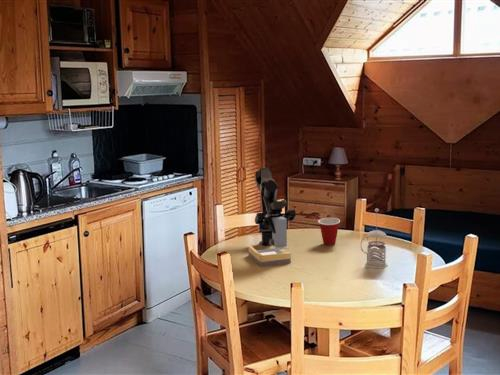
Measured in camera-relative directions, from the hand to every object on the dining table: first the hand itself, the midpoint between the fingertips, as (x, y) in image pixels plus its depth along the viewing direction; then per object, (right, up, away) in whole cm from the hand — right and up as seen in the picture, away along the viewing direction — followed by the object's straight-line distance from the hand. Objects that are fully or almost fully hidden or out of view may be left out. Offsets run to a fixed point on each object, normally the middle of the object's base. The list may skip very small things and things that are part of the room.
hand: (280, 232), depth 264 cm
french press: (+40, -13, -9) cm, 43 cm away
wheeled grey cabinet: (0, -6, +2) cm, 7 cm away
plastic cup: (+25, -8, +25) cm, 37 cm away
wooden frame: (-5, -12, +3) cm, 14 cm away
